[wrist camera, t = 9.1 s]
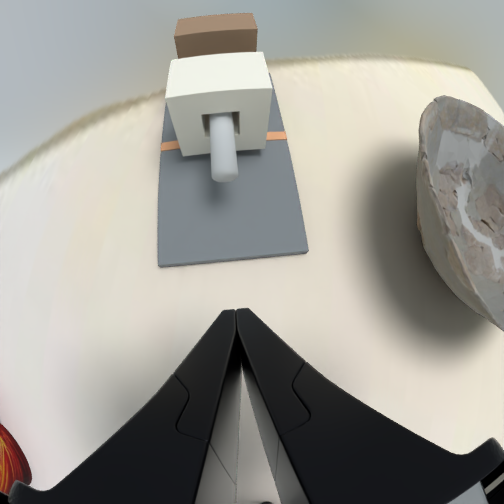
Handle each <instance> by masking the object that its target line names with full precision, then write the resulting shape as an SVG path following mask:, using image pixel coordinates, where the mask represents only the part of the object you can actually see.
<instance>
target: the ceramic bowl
mask: <svg viewBox="0 0 504 504" xmlns="http://www.w3.org/2000/svg"><path fill="white" fill-rule="evenodd" d="M416 191H417V213H418V214H417V227H418V230H419V231H420V233H421V236H422V242H423V247H424V249H425V251H426V253H427V255H428V257H429V258H430V260H431V262H432V264H433V266H434V268H435V269H436V271H437V272H438V274H439V275H440V277H441V278H442V279H443V280H444V282H445V283H446V284H447V286H448V287H449V288H450V289H451V290H452V291H453V293H454V294H455V295H456V296H457V297H458V298H459V299H460V300H462V301H463V302H464V303H465V304H466V305H467V306H468V307H470V308H471V309H472V310H474V311H475V312H476V313H478V314H479V315H481V316H483V317H485V318H486V319H488V320H489V321H490V322H492V323H493V324H494V325H496V326H497V327H498V328H500V329H501V330H503V331H504V126H503V125H502V124H501V123H499V122H498V121H496V120H495V119H494V118H493V117H492V116H490V115H489V114H487V113H486V112H484V111H483V110H482V109H480V108H478V107H476V106H474V105H472V104H470V103H468V102H465V101H462V100H460V99H459V100H458V99H455V98H453V97H449V96H445V95H443V96H440V97H436V98H435V99H434V101H433V102H431V103H429V105H428V106H427V107H426V108H425V110H424V111H423V113H422V115H421V118H420V124H419V153H418V161H417V173H416Z"/></svg>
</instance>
